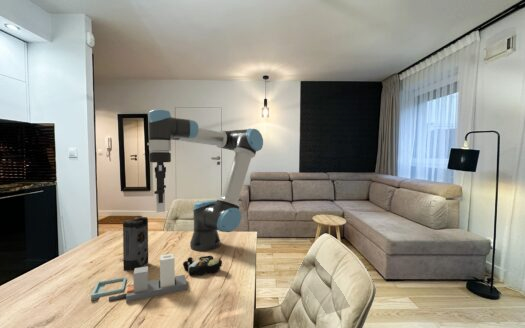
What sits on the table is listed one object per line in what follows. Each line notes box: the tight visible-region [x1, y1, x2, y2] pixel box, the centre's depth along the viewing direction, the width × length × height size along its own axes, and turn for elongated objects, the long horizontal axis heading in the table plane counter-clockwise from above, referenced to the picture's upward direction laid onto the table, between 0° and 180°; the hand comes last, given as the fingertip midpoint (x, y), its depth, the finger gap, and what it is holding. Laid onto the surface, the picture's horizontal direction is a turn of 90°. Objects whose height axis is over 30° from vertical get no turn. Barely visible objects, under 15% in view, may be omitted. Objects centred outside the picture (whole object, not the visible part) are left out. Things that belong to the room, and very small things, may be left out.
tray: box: [90, 276, 127, 302], centre depth 82 cm, size 9×9×2 cm
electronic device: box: [122, 216, 149, 272], centre depth 100 cm, size 9×6×20 cm, turn 168°
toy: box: [182, 255, 223, 277], centre depth 96 cm, size 12×8×15 cm
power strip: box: [108, 265, 188, 304], centre depth 80 cm, size 23×7×9 cm, turn 114°
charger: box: [159, 253, 176, 288], centre depth 82 cm, size 4×4×11 cm
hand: (160, 208), depth 91 cm, fingers open, 13 cm apart
